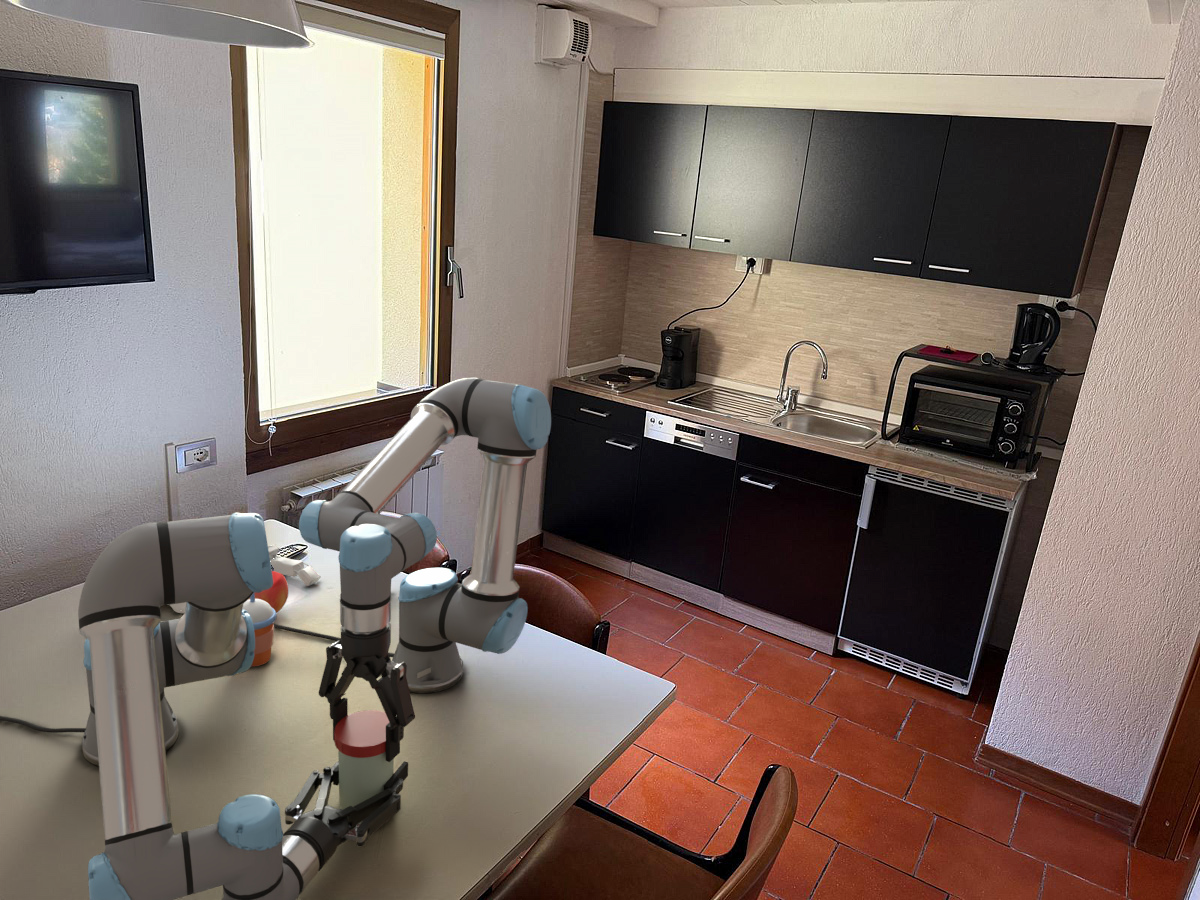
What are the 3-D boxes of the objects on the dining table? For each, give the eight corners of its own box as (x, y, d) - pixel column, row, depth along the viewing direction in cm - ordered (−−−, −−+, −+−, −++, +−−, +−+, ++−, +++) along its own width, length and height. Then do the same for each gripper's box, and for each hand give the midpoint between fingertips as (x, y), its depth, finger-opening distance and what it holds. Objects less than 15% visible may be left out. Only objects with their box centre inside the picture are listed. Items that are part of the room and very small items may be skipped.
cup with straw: (262, 673, 177) (258, 595, 172) (223, 666, 179) (218, 588, 174) (286, 652, 186) (283, 577, 181) (248, 645, 187) (244, 570, 182)
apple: (273, 600, 207) (272, 562, 204) (297, 613, 202) (296, 575, 199) (237, 614, 200) (234, 575, 197) (261, 628, 194) (259, 588, 191)
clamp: (253, 565, 223) (254, 542, 221) (265, 560, 226) (266, 537, 224) (309, 593, 215) (310, 569, 213) (320, 588, 218) (321, 564, 216)
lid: (379, 764, 132) (379, 753, 132) (322, 750, 135) (321, 739, 134) (408, 727, 142) (408, 717, 141) (354, 715, 144) (354, 704, 143)
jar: (377, 835, 137) (377, 752, 133) (329, 822, 139) (327, 740, 134) (402, 800, 145) (403, 720, 141) (356, 788, 147) (355, 709, 143)
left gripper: (238, 855, 128) (326, 764, 148) (364, 896, 122) (438, 796, 143) (235, 813, 125) (325, 727, 146) (364, 854, 120) (439, 758, 141)
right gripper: (440, 632, 131) (437, 755, 138) (325, 596, 139) (327, 713, 146) (411, 654, 125) (409, 782, 131) (291, 615, 133) (295, 737, 139)
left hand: (381, 761), depth 145 cm, fingers closed on jar, 9 cm apart
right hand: (366, 746), depth 139 cm, fingers closed on lid, 10 cm apart
